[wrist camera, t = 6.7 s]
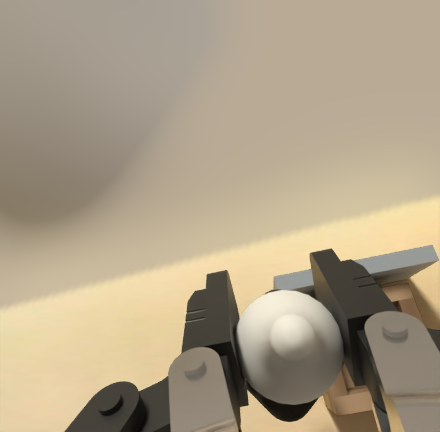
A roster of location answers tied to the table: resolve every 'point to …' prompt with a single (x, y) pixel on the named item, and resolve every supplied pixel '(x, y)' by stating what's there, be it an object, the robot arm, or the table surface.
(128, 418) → the robot arm
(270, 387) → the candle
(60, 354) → the table surface
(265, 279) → the table surface
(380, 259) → the backstop wall
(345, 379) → the socket block
